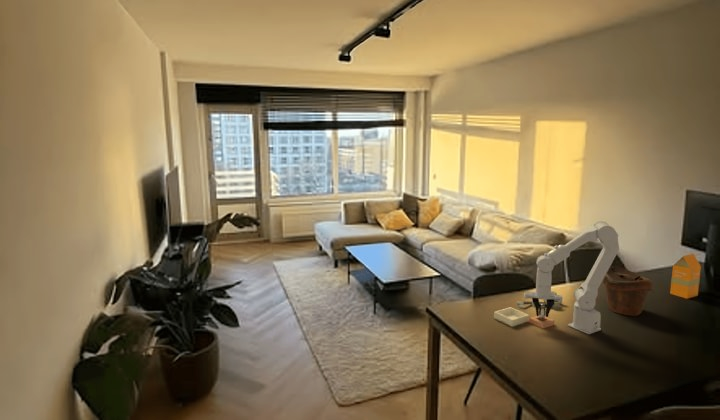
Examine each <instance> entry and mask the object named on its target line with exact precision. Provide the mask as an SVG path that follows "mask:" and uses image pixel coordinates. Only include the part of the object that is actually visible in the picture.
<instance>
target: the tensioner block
mask: <svg viewBox="0 0 720 420" xmlns="http://www.w3.org/2000/svg"><path fill="white" fill-rule="evenodd" d="M528 323H529V324H532V325H534V326H536V327H538V328H541V329H546V328H549V327H551V326H554V325H555V323H556V321H555V319H554V318H553V319H552V318H550V317H549V316H548V317H546V315H545V321H540V320H539V316H537V315H533V316H531V317H530V316H529V322H528Z"/></svg>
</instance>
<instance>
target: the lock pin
mask: <svg viewBox="0 0 720 420" xmlns="http://www.w3.org/2000/svg"><path fill="white" fill-rule="evenodd" d="M546 307H547V304H546V302H545V303H539V320H540V321H545V316H546Z"/></svg>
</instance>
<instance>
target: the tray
mask: <svg viewBox="0 0 720 420" xmlns="http://www.w3.org/2000/svg"><path fill="white" fill-rule="evenodd" d="M529 318H530V314H527V313H525V312H523V311H522V310H518V309H516V308H514V307H511V306H510V307H509V306H508V307H506V308H503V309H499V310H496V311H494V312H493V319H495V320H497V321H499V322H501V323H503V324H505V325H507V326H509V327H511V328H514V327H516V326H520V325H523V324H526V323H529Z"/></svg>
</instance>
